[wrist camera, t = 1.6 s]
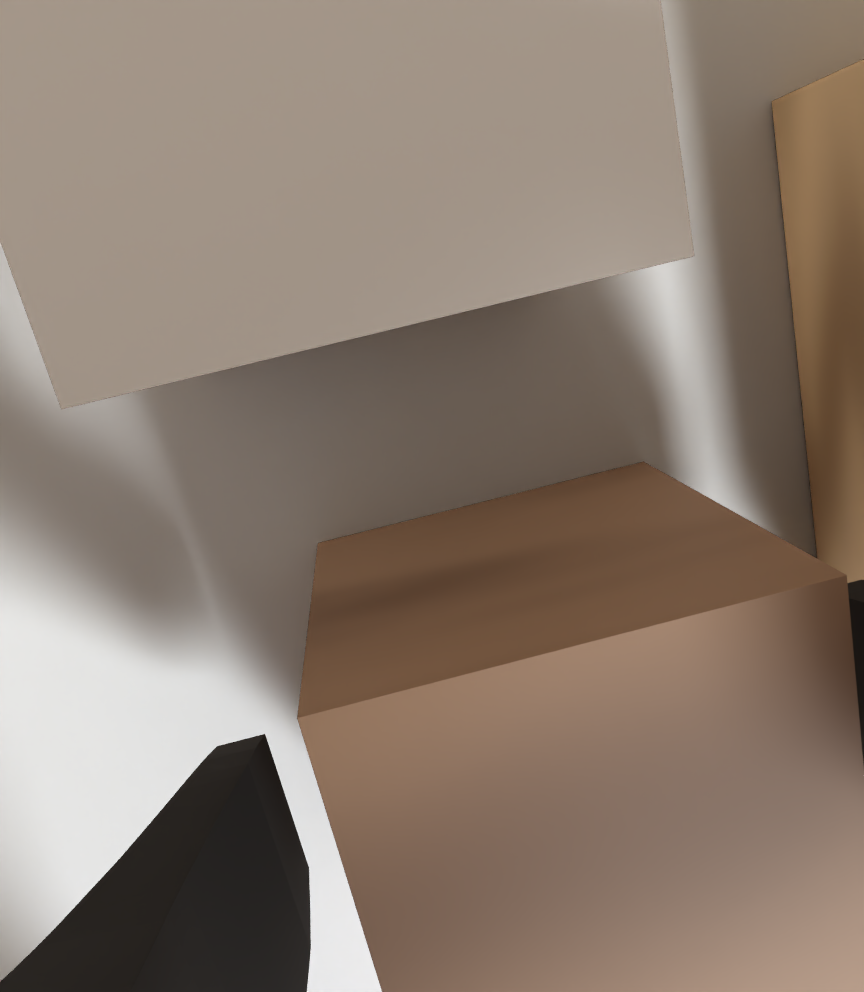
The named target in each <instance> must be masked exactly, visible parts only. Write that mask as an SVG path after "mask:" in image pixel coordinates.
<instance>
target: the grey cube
mask: <svg viewBox="0 0 864 992" xmlns="http://www.w3.org/2000/svg"><path fill="white" fill-rule="evenodd" d="M0 242H1V245H2V247H3V250H4V253H5V256H6V258H7V261H8V264H9V267H10V269H11V272H12V275H13V278H14V280H15V283H16V286H17V289H18V291H19V294H20V297H21V300H22V302H23V305H24V308H25V311H26V313H27V316H28V319H29V322H30V324H31V327H32V330H33V333H34V335H35V338H36V341H37V344H38V347H39V349H40V352H41V355H42V358H43V360H44V363H45V366H46V369H47V371H48V374H49V377H50V380H51V382H52V385H53V388H54V391H55V393H56V396H57V399H58V402H59V404H60V407H61V409H65V408H69V407H73V406H77V405H82V404H86V403H90V402H94V401H98V400H102V399H106V398H110V397H115V396H119V395H123V394H127V393H131V392H135V391H139V390H144V389H148V388H152V387H156V386H160V385H164V384H168V383H172V382H177V381H181V380H185V379H189V378H193V377H197V376H201V375H206V374H210V373H214V372H218V371H222V370H226V369H230V368H234V367H239V366H243V365H247V364H251V363H255V362H259V361H263V360H267V359H272V358H276V357H280V356H284V355H288V354H292V353H296V352H301V351H305V350H309V349H313V348H317V347H321V346H325V345H329V344H334V343H338V342H342V341H346V340H350V339H354V338H358V337H363V336H367V335H371V334H375V333H379V332H383V331H387V330H391V329H396V328H400V327H404V326H408V325H412V324H416V323H420V322H424V321H429V320H433V319H437V318H441V317H445V316H449V315H453V314H458V313H462V312H466V311H470V310H474V309H478V308H482V307H486V306H491V305H495V304H499V303H503V302H507V301H511V300H515V299H520V298H524V297H528V296H532V295H536V294H540V293H544V292H548V291H553V290H557V289H561V288H565V287H569V286H573V285H577V284H582V283H586V282H590V281H594V280H598V279H602V278H606V277H610V276H615V275H619V274H623V273H627V272H631V271H635V270H639V269H643V268H648V267H652V266H656V265H660V264H664V263H668V262H672V261H677V260H681V259H685V258H689V257H693V256H694V249H693V242H692V234H691V227H690V219H689V212H688V204H687V196H686V189H685V181H684V174H683V166H682V159H681V151H680V144H679V136H678V128H677V121H676V113H675V106H674V98H673V91H672V83H671V75H670V68H669V60H668V53H667V45H666V38H665V30H664V22H663V15H662V7H661V0H0Z"/></svg>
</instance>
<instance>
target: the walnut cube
mask: <svg viewBox="0 0 864 992" xmlns="http://www.w3.org/2000/svg"><path fill="white" fill-rule="evenodd" d="M297 719H298V722H299V725H300V729H301V732H302V735H303V738H304V742H305V745H306V748H307V751H308V754H309V758H310V761H311V764H312V767H313V771H314V774H315V777H316V780H317V783H318V787H319V790H320V793H321V796H322V799H323V803H324V806H325V809H326V812H327V816H328V819H329V822H330V825H331V828H332V832H333V835H334V838H335V841H336V845H337V848H338V851H339V854H340V857H341V861H342V864H343V867H344V870H345V873H346V877H347V880H348V883H349V886H350V890H351V893H352V896H353V899H354V902H355V906H356V909H357V912H358V915H359V919H360V922H361V925H362V928H363V931H364V935H365V938H366V941H367V944H368V947H369V951H370V954H371V957H372V960H373V964H374V967H375V970H376V973H377V976H378V980H379V983H380V986H381V989H382V992H864V765H863V754H862V742H861V731H860V720H859V708H858V697H857V686H856V674H855V663H854V652H853V640H852V629H851V618H850V606H849V595H848V584H847V575H846V574H844V573H842V572H840V571H838V570H837V569H835V568H833V567H831V566H829V565H828V564H826V563H824V562H822V561H820V560H819V559H817V558H815V557H813V556H812V555H810V554H808V553H806V552H804V551H803V550H801V549H799V548H797V547H795V546H794V545H792V544H790V543H788V542H787V541H785V540H783V539H781V538H779V537H778V536H776V535H774V534H772V533H770V532H769V531H767V530H765V529H763V528H761V527H760V526H758V525H756V524H754V523H753V522H751V521H749V520H747V519H745V518H744V517H742V516H740V515H738V514H736V513H735V512H733V511H731V510H729V509H728V508H726V507H724V506H722V505H720V504H719V503H717V502H715V501H713V500H711V499H710V498H708V497H706V496H704V495H702V494H701V493H699V492H697V491H695V490H694V489H692V488H690V487H688V486H686V485H685V484H683V483H681V482H679V481H677V480H676V479H674V478H672V477H670V476H669V475H667V474H665V473H663V472H661V471H660V470H658V469H656V468H654V467H652V466H651V465H649V464H647V463H645V462H640V463H636V464H632V465H628V466H624V467H620V468H616V469H612V470H608V471H604V472H600V473H596V474H592V475H588V476H584V477H580V478H576V479H572V480H568V481H564V482H560V483H556V484H552V485H548V486H544V487H540V488H536V489H532V490H528V491H524V492H520V493H516V494H512V495H508V496H504V497H500V498H496V499H492V500H488V501H484V502H480V503H476V504H472V505H468V506H464V507H460V508H456V509H452V510H448V511H444V512H440V513H436V514H432V515H428V516H424V517H420V518H416V519H412V520H408V521H404V522H400V523H396V524H392V525H388V526H384V527H380V528H376V529H372V530H368V531H364V532H360V533H356V534H352V535H348V536H344V537H340V538H336V539H332V540H328V541H324V542H320V543H318V546H317V554H316V563H315V571H314V580H313V588H312V597H311V605H310V614H309V622H308V631H307V639H306V648H305V656H304V665H303V673H302V682H301V690H300V699H299V707H298V716H297Z"/></svg>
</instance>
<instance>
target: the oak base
mask: <svg viewBox="0 0 864 992" xmlns="http://www.w3.org/2000/svg"><path fill="white" fill-rule="evenodd" d="M772 110H773V120H774V130H775V140H776V150H777V160H778V170H779V180H780V190H781V200H782V210H783V220H784V230H785V240H786V250H787V260H788V270H789V280H790V290H791V300H792V310H793V320H794V330H795V340H796V350H797V360H798V370H799V380H800V390H801V400H802V410H803V419H804V429H805V439H806V449H807V459H808V469H809V479H810V489H811V499H812V509H813V519H814V529H815V539H816V549H817V559H819V560H820V561H822V562H824V563H826V564H828V565H829V566H831V567H833V568H835V569H837V570H838V571H840V572H842V573H844V574H846V575H847V583H850V582H854V581H857V580H864V59H863V60H861V61H859V62H856V63H854V64H852V65H850V66H848V67H845V68H843V69H841V70H839V71H837V72H835V73H832V74H830V75H828V76H826V77H824V78H822V79H819V80H817V81H815V82H813V83H811V84H808V85H806V86H804V87H802V88H800V89H798V90H795V91H793V92H791V93H789V94H787V95H785V96H782V97H780V98H778V99H776V100H774V101H772Z"/></svg>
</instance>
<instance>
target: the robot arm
mask: <svg viewBox="0 0 864 992" xmlns="http://www.w3.org/2000/svg"><path fill="white" fill-rule="evenodd" d="M847 584H848V595H849V606H850V618H851V629H852V640H853V652H854V663H855V674H856V686H857V697H858V708H859V720H860V731H861V742H862V754H863V765H864V580H857V581H854V582H850V583H847ZM310 949H311V940H310V890H309V867H308V864H307V861H306V858H305V855H304V852H303V849H302V846H301V843H300V839H299V836H298V833H297V830H296V827H295V824H294V821H293V818H292V815H291V812H290V809H289V806H288V803H287V800H286V797H285V794H284V791H283V788H282V785H281V782H280V779H279V775H278V772H277V769H276V766H275V763H274V760H273V757H272V754H271V751H270V748H269V745H268V742H267V739H266V736H265V734H263V735H259V736H255V737H252V738H248V739H244V740H240V741H236V742H232V743H228V744H225V745H221V746H217V747H216V748H215V749H214V750H213V751H212V752H211V753H210V754H209V755H208V756H207V757H206V758H205V759H204V761H203V762H202V763H201V764H200V765H199V766H198V767H197V769H196V770H195V771H194V772H193V773H192V774H191V776H190V777H189V778H188V779H187V780H186V781H185V783H184V784H183V785H182V786H181V787H180V789H179V790H178V791H177V792H176V793H175V795H174V796H173V797H172V798H171V799H170V801H169V802H168V803H167V804H166V805H165V807H164V808H163V809H162V810H161V811H160V812H159V814H158V815H157V816H156V817H155V818H154V819H153V821H152V822H151V823H150V824H149V825H148V826H147V828H146V829H145V830H144V831H143V832H142V833H141V835H140V836H139V837H138V838H137V839H136V840H135V842H134V843H133V844H132V845H131V846H130V848H129V849H128V850H127V851H126V852H125V853H124V854H123V856H122V857H121V858H120V859H119V860H118V861H117V862H116V863H115V864H114V866H113V867H112V868H111V869H110V870H109V871H108V872H107V873H106V874H105V875H104V876H103V877H102V878H101V880H100V881H99V882H98V883H97V884H96V885H95V886H94V887H93V888H92V889H91V890H90V891H89V892H88V894H87V895H86V896H85V897H84V898H83V899H82V900H81V901H80V902H79V903H78V904H77V905H76V906H75V908H74V909H73V910H72V911H71V912H70V913H69V914H68V915H67V916H66V917H65V918H64V919H63V920H62V922H61V923H60V924H59V925H58V926H57V927H56V928H55V929H54V930H53V931H52V932H51V933H50V934H49V935H48V936H47V937H46V938H45V939H44V940H43V941H42V942H41V943H40V944H39V945H38V946H37V947H36V948H35V949H34V950H33V951H32V952H31V953H30V954H29V955H28V956H27V957H26V958H25V959H24V960H23V961H22V962H21V963H20V964H19V965H18V966H17V967H16V968H15V969H14V970H13V971H11V972H10V973H9V974H8V975H7V976H6V977H5V978H4V979H3V980H2V981H1V982H0V992H307V982H308V972H309V961H310Z"/></svg>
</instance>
